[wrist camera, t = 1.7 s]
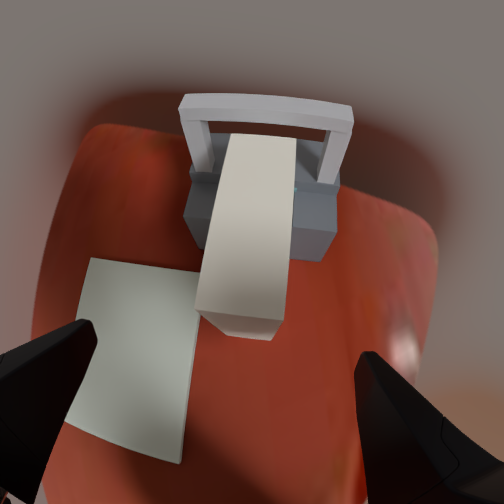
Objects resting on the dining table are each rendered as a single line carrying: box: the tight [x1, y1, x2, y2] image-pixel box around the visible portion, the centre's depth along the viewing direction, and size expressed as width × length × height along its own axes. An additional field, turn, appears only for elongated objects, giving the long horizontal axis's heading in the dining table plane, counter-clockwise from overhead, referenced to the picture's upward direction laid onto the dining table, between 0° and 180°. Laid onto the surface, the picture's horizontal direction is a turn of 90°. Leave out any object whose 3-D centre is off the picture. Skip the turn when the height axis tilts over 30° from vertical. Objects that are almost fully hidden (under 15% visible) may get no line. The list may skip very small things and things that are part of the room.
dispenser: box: [178, 93, 354, 262], centre depth 16 cm, size 6×9×11 cm, turn 83°
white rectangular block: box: [194, 134, 296, 341], centre depth 15 cm, size 8×3×10 cm, turn 173°
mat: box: [64, 257, 201, 464], centre depth 17 cm, size 14×10×1 cm
